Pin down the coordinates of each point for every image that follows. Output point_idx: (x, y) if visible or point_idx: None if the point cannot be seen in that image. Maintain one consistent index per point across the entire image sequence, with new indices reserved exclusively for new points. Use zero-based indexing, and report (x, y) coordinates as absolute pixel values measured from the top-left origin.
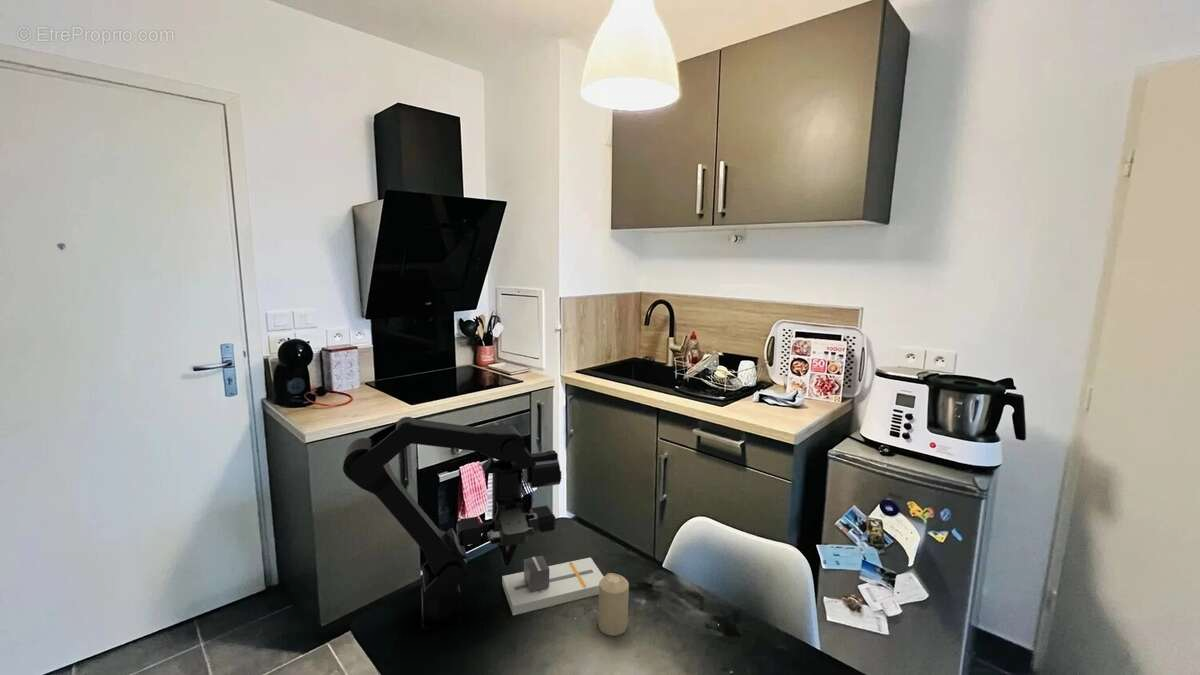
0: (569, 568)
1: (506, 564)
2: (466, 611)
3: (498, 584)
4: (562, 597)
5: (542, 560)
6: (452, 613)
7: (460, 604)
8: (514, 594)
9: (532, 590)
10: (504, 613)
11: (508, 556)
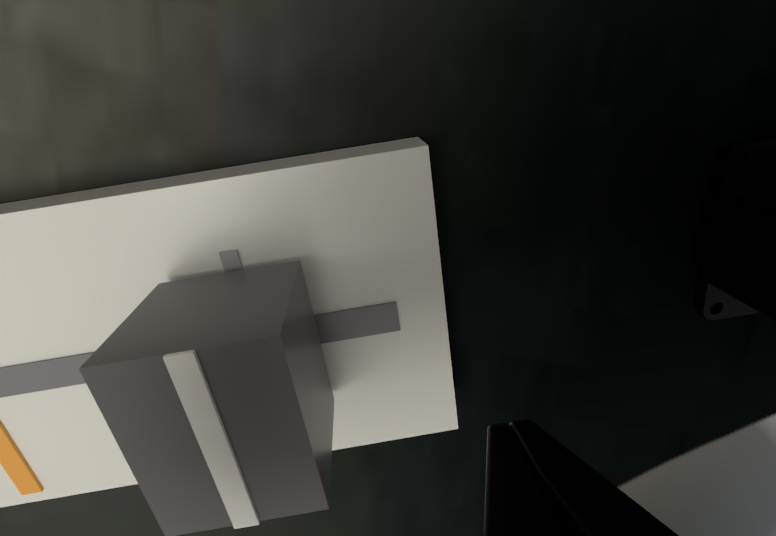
0: (34, 447)
1: (523, 430)
2: (658, 226)
3: (465, 399)
4: (71, 198)
5: (162, 483)
6: (768, 187)
7: (742, 225)
8: (405, 260)
9: (281, 263)
10: (463, 168)
11: (546, 510)
